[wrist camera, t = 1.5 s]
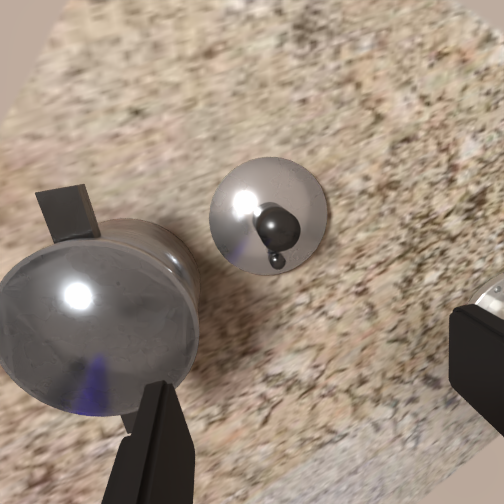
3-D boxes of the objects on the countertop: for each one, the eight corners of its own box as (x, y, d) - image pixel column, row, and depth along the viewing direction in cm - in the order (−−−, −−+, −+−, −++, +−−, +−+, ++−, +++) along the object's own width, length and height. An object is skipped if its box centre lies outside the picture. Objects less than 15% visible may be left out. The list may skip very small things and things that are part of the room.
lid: (317, 147, 28) (343, 144, 22) (328, 259, 32) (353, 282, 26) (197, 168, 28) (193, 171, 22) (222, 280, 31) (223, 309, 25)
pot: (177, 166, 27) (159, 170, 18) (222, 356, 33) (224, 425, 25) (18, 194, 26) (-77, 212, 18) (94, 383, 32) (51, 465, 24)
